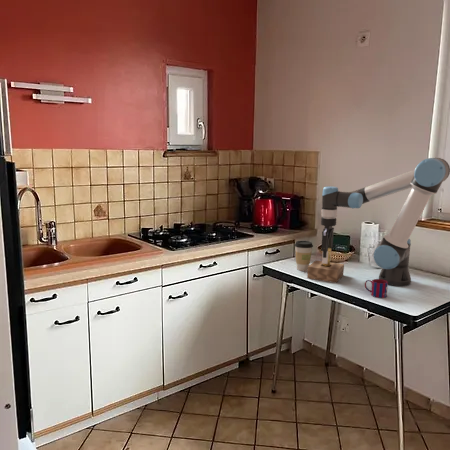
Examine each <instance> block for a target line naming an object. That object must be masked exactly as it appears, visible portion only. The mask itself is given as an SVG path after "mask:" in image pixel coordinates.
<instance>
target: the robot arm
mask: <svg viewBox="0 0 450 450" xmlns="http://www.w3.org/2000/svg"><path fill="white" fill-rule="evenodd" d="M449 176H450V164H449V163H448V161H446V160H445V159H444V158H442V157H427V158H425V159H423V160H421V161H420V162H419V163H418V164H417V165H416V167H415V169H412V170H410V171H407V172H404V173H401V174H398V175H396V176H393V177H391V178H387V179H384V180H381V181H379V182H376V183H373V184H371V185H369V186H368V185H367V186H365V187H362V188H360V189H356V190H353V191H340V190H339V187H338V186H333V185H331V186H324V187H323V189H322V195H321V196H322V197H321V210H320V213H321V218H320V225H321V226H324V228H323V230H322V231H321V235H322V236H321V248H320V252H322V253H321V254H322V255H321V256H322V257H321V261H322V263H323V264H328V248H331V249H333V248H334V245H333V243H334V231H335V230H334V229H335V228H334V227H336V225H337V216H338V215H337V214H338V207H341V208H346V209H348V208H349V209H361V207H362V206H363V204H366V203H369V202H371V201H372V202H373V201H375V200H378V199H381V198H384V197H389V196H390V195H393V194H397V193H399V192H403V191H405V190H409V189H410V191H409V193H408V196H407V197H406V199H405V201H404V203H403V205H402V207H401V208H400V212H399V213H398V215H397V217H396V219H395V221H394V223H393V224H392V227H391V229H390V231H389V233H388V234H385V235H384V236H383V238H382V239H381V241H380V244H379V246H377V247H376V248H375V249H374V252H373V260H374V262H375V264H376V265H377V266H378V267H379V268H381V270H380V273H379V274H378V279H382V280H386V281H387V282H388V286H395V287H407V286H409V285H411V283H412V278H411V273H410V270H409V264H410V253H411V246H412V243H411V239H410V237H411V235H412V233H413V231H414V229H415V227H416V225H417V223H418V221H419V219H420V218H421V216H422V214H423V212H424V210H425V207H427V204H428V202H429V200H430V198H431V197H432V196H433V195H436V194H437V193H438V191H439V189H440V188H441V185H442V184H443V182H445V181H446V180H447V179H448V178H449ZM331 260H332V257H331V258H330V262H331Z"/></svg>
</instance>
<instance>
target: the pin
mask: <svg viewBox="0 0 450 450" xmlns="http://www.w3.org/2000/svg"><path fill="white" fill-rule="evenodd" d="M330 258H331V259H332V248H328V264H323V266H325V267H330V262H331V261H330Z"/></svg>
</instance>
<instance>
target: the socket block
mask: <svg viewBox="0 0 450 450" xmlns="http://www.w3.org/2000/svg"><path fill="white" fill-rule="evenodd" d="M344 269H345V264H343V263H337V262H331V261H330V267H325V266H323V263H322V260H317V259H316V260H314V261H313V262H312V263H310V264H309V266H308V271H307V275H306V276H307V277H306V278H307V279H310V280H311V279H312V280H318V281H323V280H324V282H330V281H331V283H338V282H339V281H340V279H342V278H343V276H344V273H345V272H344V271H345V270H344Z"/></svg>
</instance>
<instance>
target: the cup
mask: <svg viewBox="0 0 450 450" xmlns="http://www.w3.org/2000/svg"><path fill="white" fill-rule="evenodd" d="M367 282H368V283H369V282H370V283H371V289H370V288H368V287H367ZM388 286H389V285H388V282H387V281H386V280H382V279H379V278H376V279H375V278H374V279H372V280H370V279H367V280H366V281H365V282H364V287H365V290H366V291H368V292H369V293H371V294H370V295H371V297H374V298H377V299H385V298H387V295H388V294H387V293H388Z"/></svg>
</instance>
